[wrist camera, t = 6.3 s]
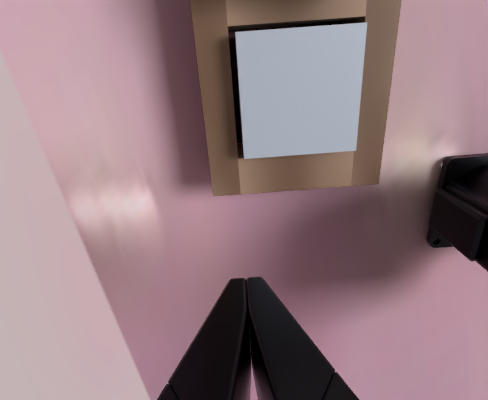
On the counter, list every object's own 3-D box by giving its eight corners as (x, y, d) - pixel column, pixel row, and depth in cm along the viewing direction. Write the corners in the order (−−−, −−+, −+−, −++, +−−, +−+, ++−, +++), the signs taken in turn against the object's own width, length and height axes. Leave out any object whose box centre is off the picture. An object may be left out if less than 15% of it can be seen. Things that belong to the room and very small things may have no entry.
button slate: (340, 28, 16) (367, 22, 13) (334, 133, 18) (356, 150, 15) (234, 36, 16) (235, 31, 13) (242, 140, 18) (244, 158, 15)
